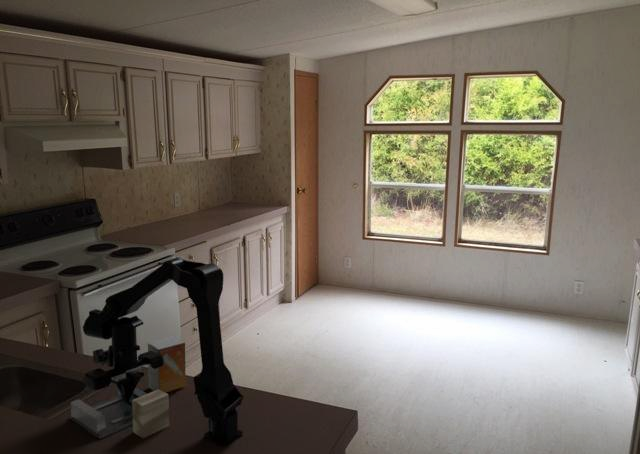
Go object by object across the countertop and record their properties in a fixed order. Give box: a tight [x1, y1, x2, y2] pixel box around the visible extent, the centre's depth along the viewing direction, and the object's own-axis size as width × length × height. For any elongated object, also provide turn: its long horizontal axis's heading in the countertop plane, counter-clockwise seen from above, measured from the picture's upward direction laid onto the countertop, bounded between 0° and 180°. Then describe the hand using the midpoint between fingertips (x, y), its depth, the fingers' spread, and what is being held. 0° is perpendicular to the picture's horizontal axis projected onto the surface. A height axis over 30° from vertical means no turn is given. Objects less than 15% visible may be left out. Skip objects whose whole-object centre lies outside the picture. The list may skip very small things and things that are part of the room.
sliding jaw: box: [117, 387, 148, 403], centre depth 129 cm, size 12×2×3 cm, turn 52°
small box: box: [147, 335, 186, 394], centre depth 139 cm, size 8×6×13 cm
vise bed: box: [69, 395, 133, 440], centre depth 125 cm, size 14×16×4 cm
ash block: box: [132, 389, 170, 439], centre depth 119 cm, size 4×7×8 cm, turn 142°
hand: (126, 401), depth 127 cm, fingers closed
